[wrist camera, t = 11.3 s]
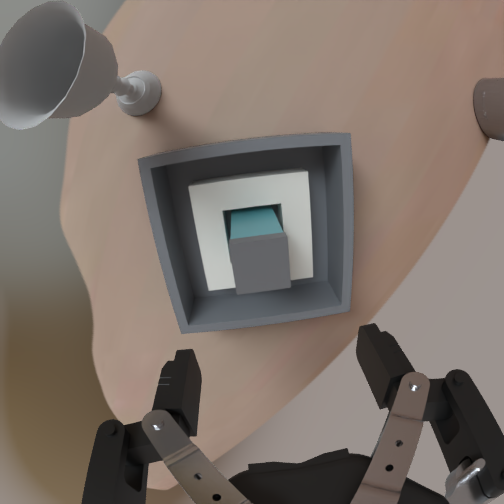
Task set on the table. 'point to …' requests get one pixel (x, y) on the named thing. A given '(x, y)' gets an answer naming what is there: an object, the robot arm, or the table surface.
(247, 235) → the peg
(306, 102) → the table surface
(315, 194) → the walled box
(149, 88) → the chalice
